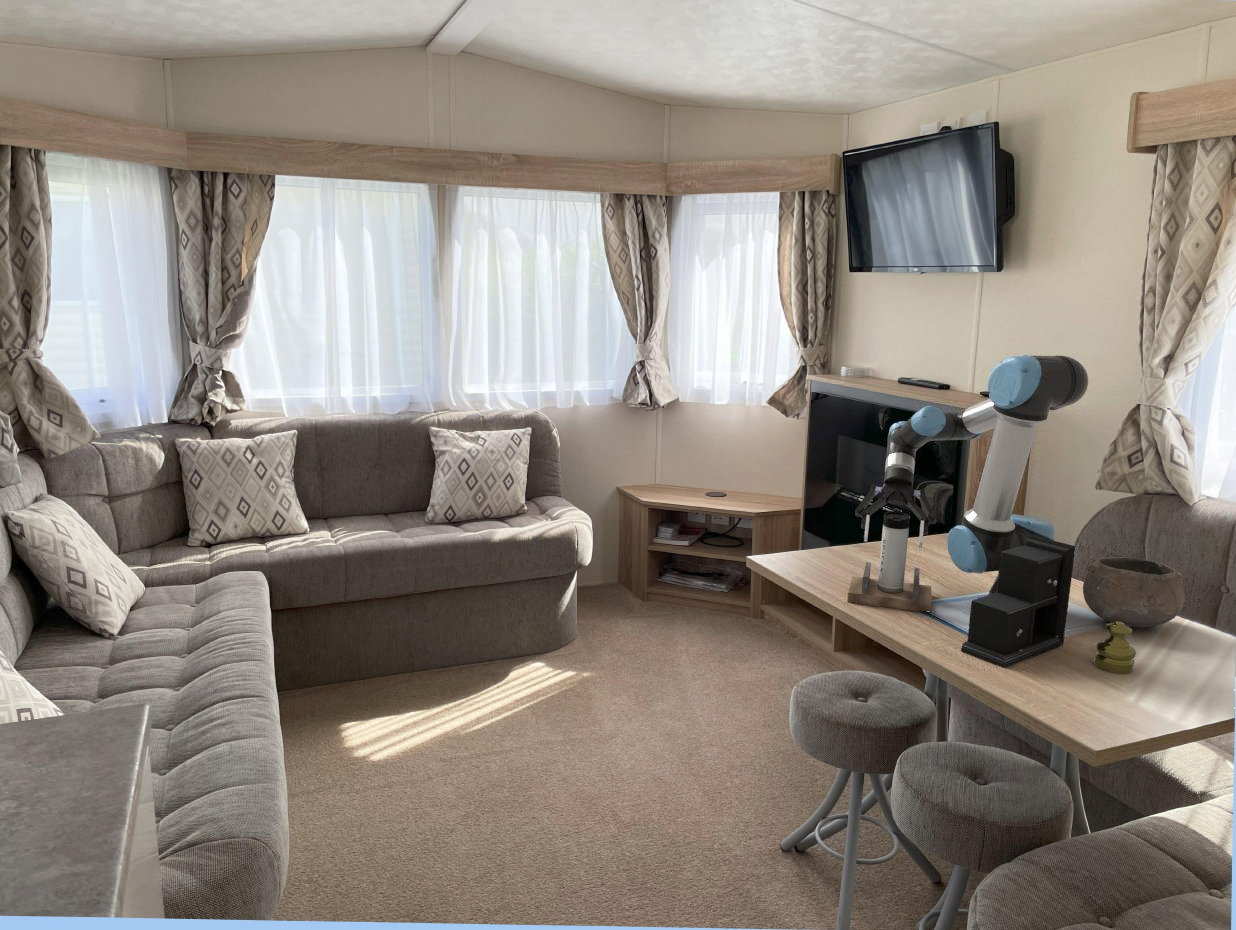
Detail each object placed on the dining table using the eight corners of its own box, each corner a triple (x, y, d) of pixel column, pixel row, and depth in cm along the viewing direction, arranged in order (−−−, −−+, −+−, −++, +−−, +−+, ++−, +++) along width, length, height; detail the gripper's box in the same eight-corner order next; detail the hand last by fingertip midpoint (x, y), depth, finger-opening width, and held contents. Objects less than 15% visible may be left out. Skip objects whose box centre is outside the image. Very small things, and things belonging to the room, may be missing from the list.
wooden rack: (930, 595, 235) (932, 569, 234) (930, 612, 222) (933, 585, 220) (851, 585, 241) (853, 560, 240) (847, 601, 228) (849, 575, 227)
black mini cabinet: (1004, 668, 190) (1017, 561, 185) (959, 651, 199) (970, 548, 194) (1064, 646, 203) (1077, 545, 199) (1019, 630, 212) (1031, 534, 207)
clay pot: (1064, 620, 219) (1072, 560, 216) (1101, 602, 233) (1108, 546, 230) (1159, 647, 204) (1168, 583, 201) (1192, 627, 217) (1202, 567, 214)
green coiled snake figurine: (1123, 677, 187) (1129, 631, 185) (1087, 665, 193) (1093, 620, 191) (1139, 669, 191) (1146, 624, 189) (1104, 657, 197) (1110, 614, 195)
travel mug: (903, 586, 233) (910, 511, 229) (902, 594, 227) (909, 517, 223) (878, 583, 235) (884, 509, 231) (876, 591, 229) (883, 514, 225)
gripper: (946, 485, 243) (942, 554, 232) (851, 477, 250) (843, 543, 239) (949, 470, 237) (945, 540, 226) (851, 461, 244) (843, 529, 233)
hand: (892, 542), depth 233 cm, fingers open, 13 cm apart
